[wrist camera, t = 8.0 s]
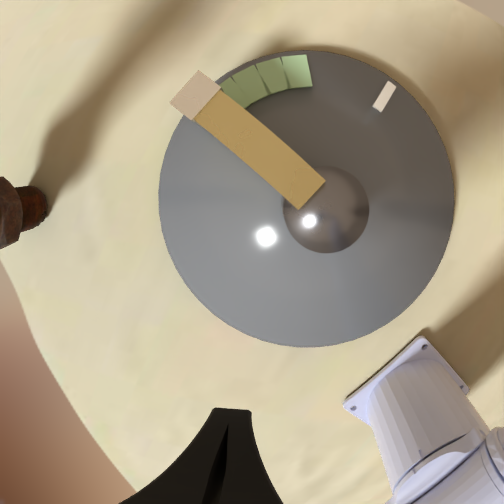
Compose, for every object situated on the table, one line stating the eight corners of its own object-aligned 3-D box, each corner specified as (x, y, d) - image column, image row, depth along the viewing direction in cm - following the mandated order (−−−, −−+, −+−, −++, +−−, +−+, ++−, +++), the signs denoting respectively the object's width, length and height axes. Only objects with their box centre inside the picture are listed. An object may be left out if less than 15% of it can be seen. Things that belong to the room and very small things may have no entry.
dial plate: (486, 202, 17) (496, 204, 16) (313, 382, 21) (315, 393, 20) (298, 7, 15) (299, -1, 14) (112, 215, 19) (103, 218, 18)
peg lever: (367, 202, 17) (388, 210, 13) (319, 254, 17) (329, 273, 14) (224, 75, 15) (213, 55, 12) (176, 129, 16) (155, 119, 13)
